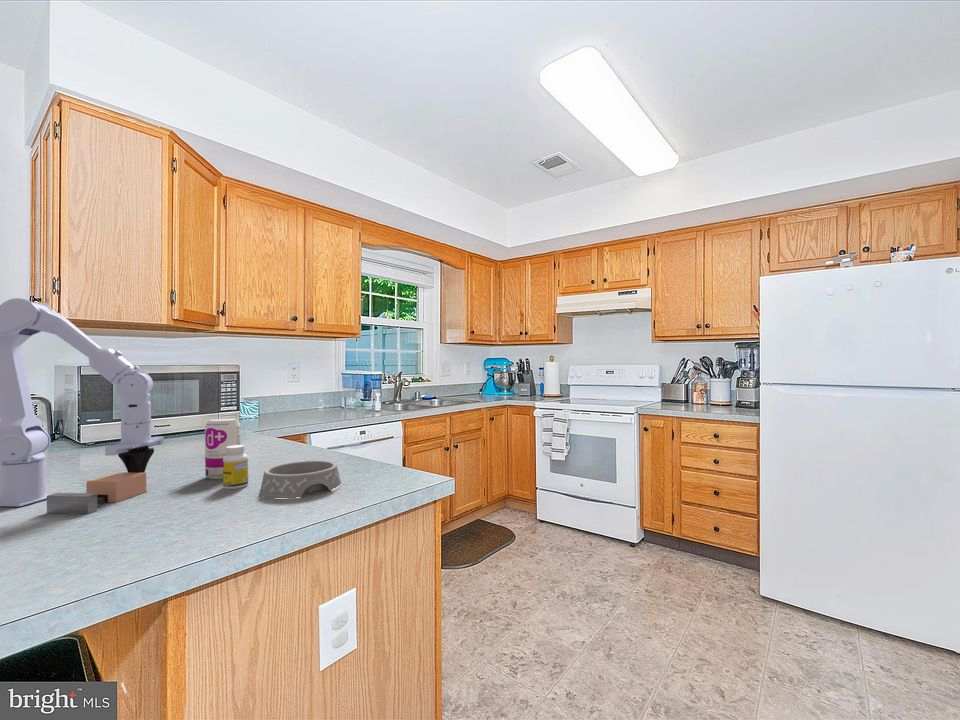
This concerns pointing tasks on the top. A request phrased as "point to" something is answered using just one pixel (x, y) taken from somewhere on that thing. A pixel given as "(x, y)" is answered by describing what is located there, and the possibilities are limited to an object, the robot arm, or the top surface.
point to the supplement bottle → (235, 467)
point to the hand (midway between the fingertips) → (136, 480)
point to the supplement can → (219, 444)
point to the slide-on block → (118, 485)
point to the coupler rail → (74, 502)
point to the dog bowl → (299, 478)
